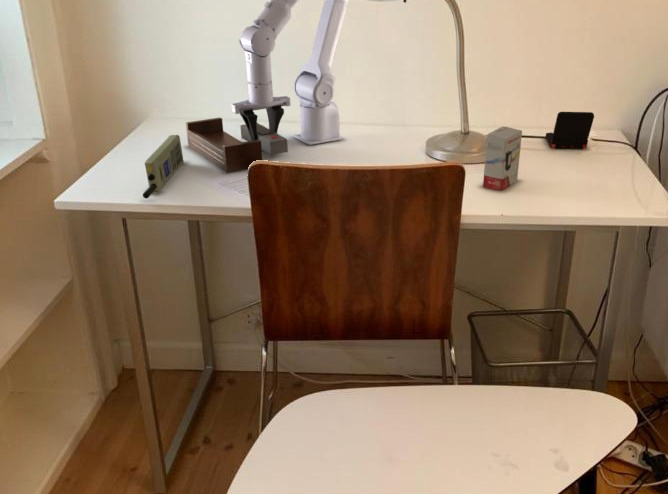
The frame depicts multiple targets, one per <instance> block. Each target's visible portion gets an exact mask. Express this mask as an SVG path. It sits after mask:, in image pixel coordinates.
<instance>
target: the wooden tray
mask: <svg viewBox="0 0 668 494" xmlns="http://www.w3.org/2000/svg"><path fill="white" fill-rule="evenodd" d="M185 129H186V136H187V146H188V148H189V149H191V150H192V151H194V152H196V153H197V154H198V155H200V156H201V157H203V158H204V159H206V160H207V161H209V162H210V163H212V164H213V165H214V166H216V167H218V168H219V169H220V170H222V171H224V172H225V173H226V174H228V173H235V172H240V171H246V170H249V169H248V167H249V165H250V164H251V163H252V162H253V161H256V160H262V161H263V150H262V146H261V141H260V140H254V141H241V140H239V139H238V138H236V137H235V136H233V135H232V134H229V133H228V132H226V131H225V130H224V124H223V118H222V117H214V118H207V119H199V120H194V121H186V122H185Z"/></svg>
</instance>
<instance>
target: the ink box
mask: <svg viewBox="0 0 668 494" xmlns="http://www.w3.org/2000/svg"><path fill="white" fill-rule="evenodd" d="M522 135H523V130H521V129H517V128H512V127H508V126H500V127H498V128H497V129H495V130H492V131H490V132H489V133H487V135H486V145H485V155H484V156H485V158H484V169H483V180H482V181H483V182H482V187H483V188H486V189H490V190H496V191H500V192H501V191H502V192H503V191H505V190H506V189H507V188H508V187H510V186H511V185H513V184H514V183H516V182H518V175H519V167H520V166H519V165H520V158H521V157H520V156H521V146H522V137H523V136H522Z"/></svg>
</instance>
